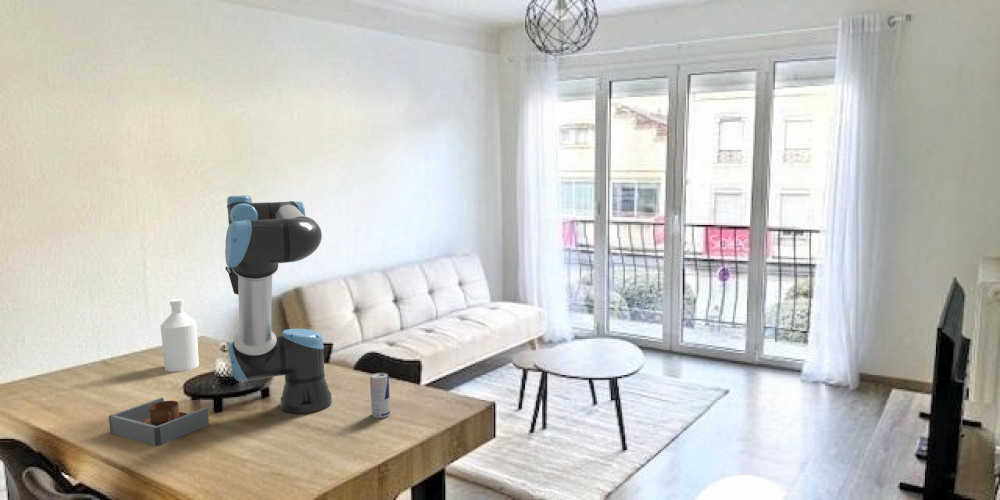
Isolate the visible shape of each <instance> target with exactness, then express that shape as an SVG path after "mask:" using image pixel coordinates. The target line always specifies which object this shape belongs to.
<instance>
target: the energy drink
mask: <svg viewBox="0 0 1000 500" xmlns="http://www.w3.org/2000/svg"><path fill="white" fill-rule="evenodd" d="M369 383H370V407H371V409H370V410H371V416H372V417H373V418H375V419H384V418H388V417H389V416H390V415H391V401H390V399H391V398H390V397H391V396H390V377H389V374H388V373H385V372H376V373H372V374H371V375H370V377H369Z"/></svg>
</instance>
